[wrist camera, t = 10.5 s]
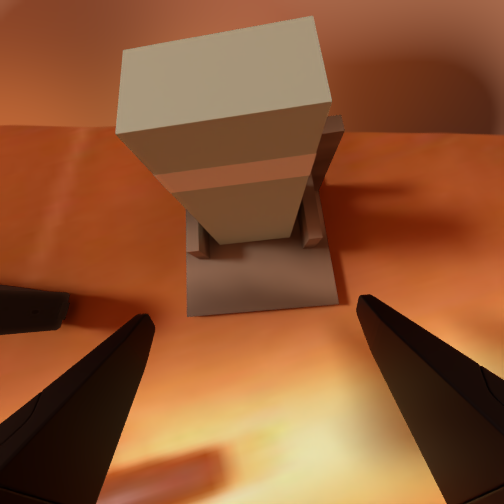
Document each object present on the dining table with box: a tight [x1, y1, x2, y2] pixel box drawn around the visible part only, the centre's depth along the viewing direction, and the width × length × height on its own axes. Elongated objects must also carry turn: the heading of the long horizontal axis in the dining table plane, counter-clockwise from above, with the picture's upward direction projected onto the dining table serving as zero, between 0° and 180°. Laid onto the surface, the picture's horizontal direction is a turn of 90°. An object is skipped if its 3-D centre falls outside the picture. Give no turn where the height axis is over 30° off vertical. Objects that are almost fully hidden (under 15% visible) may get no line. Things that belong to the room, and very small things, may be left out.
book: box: [116, 16, 332, 245], centre depth 13 cm, size 4×6×13 cm, turn 95°
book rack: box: [186, 115, 345, 317], centre depth 16 cm, size 12×13×8 cm
